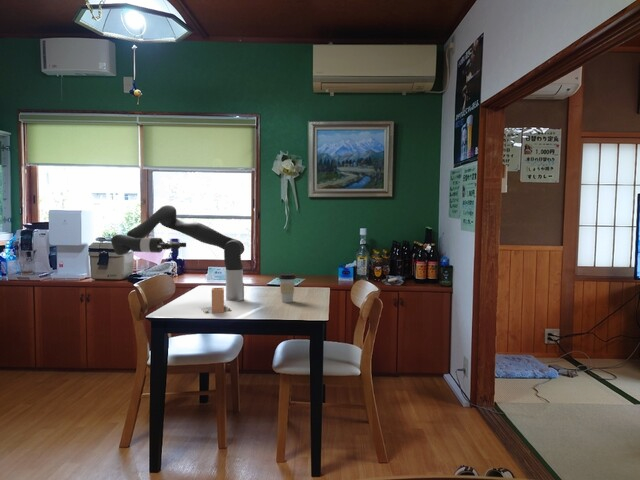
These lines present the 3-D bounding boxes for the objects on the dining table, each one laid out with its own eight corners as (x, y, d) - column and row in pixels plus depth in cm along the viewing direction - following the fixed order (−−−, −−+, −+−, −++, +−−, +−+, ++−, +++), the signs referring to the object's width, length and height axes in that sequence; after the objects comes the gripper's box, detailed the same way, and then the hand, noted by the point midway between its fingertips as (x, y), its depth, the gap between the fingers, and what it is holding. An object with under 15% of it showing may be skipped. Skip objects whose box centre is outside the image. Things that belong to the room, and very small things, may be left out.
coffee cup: (285, 304, 234) (285, 276, 233) (275, 301, 241) (275, 274, 240) (299, 301, 240) (299, 274, 239) (288, 299, 248) (289, 272, 246)
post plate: (225, 307, 225) (224, 293, 225) (232, 313, 213) (232, 298, 212) (199, 310, 219) (199, 295, 219) (205, 316, 207) (205, 301, 206)
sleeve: (211, 312, 209) (211, 290, 208) (212, 310, 214) (211, 287, 213) (226, 312, 210) (225, 289, 209) (226, 309, 215) (225, 287, 215)
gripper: (145, 238, 216) (177, 239, 215) (157, 236, 230) (187, 237, 229) (145, 253, 216) (177, 254, 215) (157, 251, 230) (188, 251, 230)
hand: (183, 245), depth 222 cm, fingers open, 8 cm apart
